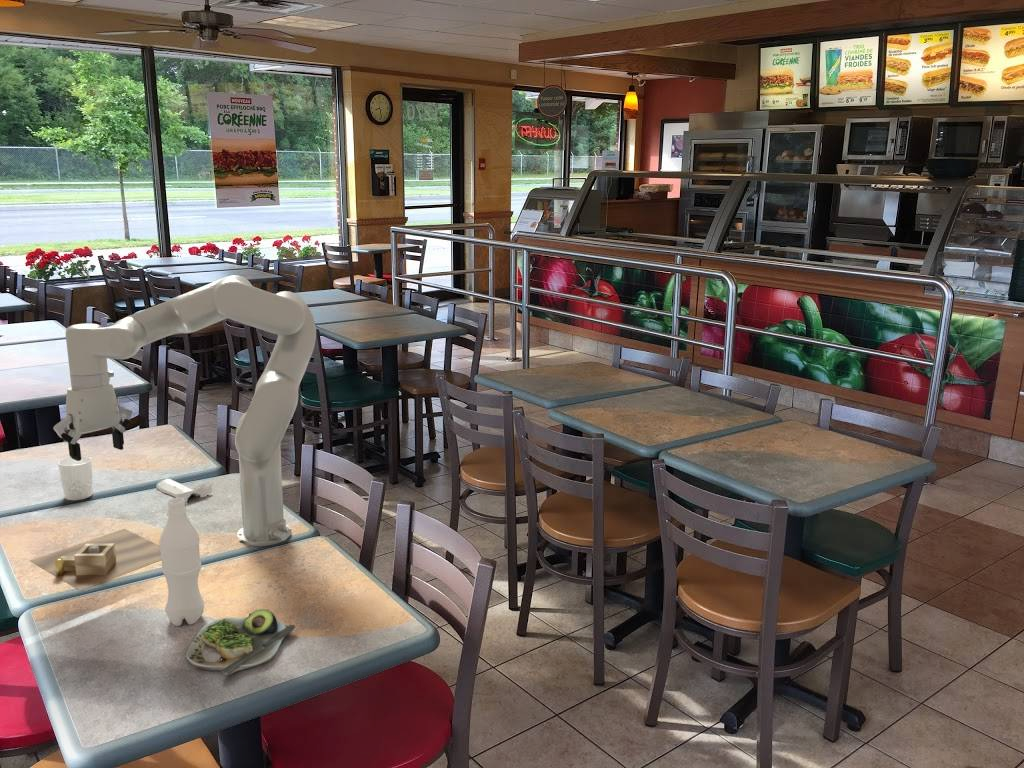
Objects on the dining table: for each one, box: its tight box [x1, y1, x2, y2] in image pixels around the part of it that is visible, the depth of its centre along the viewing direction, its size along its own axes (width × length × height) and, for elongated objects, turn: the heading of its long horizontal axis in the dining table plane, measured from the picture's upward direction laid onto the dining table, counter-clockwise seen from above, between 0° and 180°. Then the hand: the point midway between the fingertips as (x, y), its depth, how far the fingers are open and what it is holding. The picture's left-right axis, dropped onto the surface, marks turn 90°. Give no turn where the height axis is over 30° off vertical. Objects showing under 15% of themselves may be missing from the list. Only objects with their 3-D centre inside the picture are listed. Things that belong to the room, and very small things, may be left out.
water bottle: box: [158, 497, 205, 627], centre depth 162 cm, size 7×7×25 cm
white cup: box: [57, 455, 94, 501], centre depth 224 cm, size 8×8×10 cm
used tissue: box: [155, 478, 214, 506], centre depth 228 cm, size 11×18×4 cm, turn 40°
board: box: [29, 528, 162, 592], centre depth 187 cm, size 22×22×6 cm
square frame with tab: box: [61, 543, 116, 575], centre depth 181 cm, size 10×6×4 cm, turn 93°
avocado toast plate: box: [185, 608, 296, 676], centre depth 154 cm, size 19×18×5 cm
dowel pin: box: [55, 558, 65, 577], centre depth 179 cm, size 2×2×4 cm
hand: (97, 453), depth 189 cm, fingers open, 9 cm apart
